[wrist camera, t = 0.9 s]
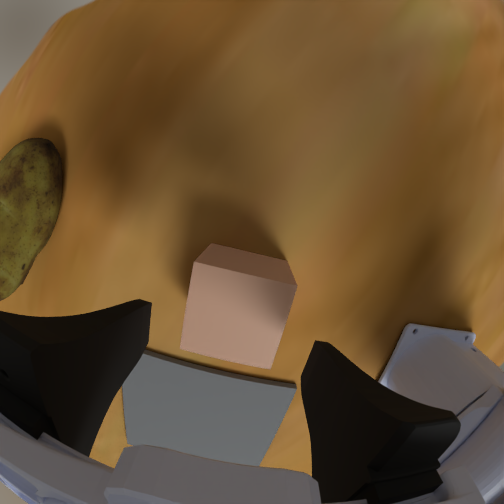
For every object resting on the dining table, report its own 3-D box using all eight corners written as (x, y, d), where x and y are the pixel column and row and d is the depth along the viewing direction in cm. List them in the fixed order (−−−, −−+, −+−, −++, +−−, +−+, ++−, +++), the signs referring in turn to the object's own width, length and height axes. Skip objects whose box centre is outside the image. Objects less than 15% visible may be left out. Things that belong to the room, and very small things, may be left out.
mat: (296, 384, 20) (296, 388, 19) (254, 470, 23) (254, 474, 22) (124, 342, 19) (121, 345, 19) (129, 439, 22) (127, 443, 22)
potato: (104, 208, 17) (25, 222, 9) (29, 296, 19) (-28, 329, 11) (59, 129, 16) (-13, 114, 8) (-6, 227, 18) (-63, 242, 10)
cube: (287, 260, 18) (297, 285, 13) (267, 327, 19) (270, 369, 14) (211, 242, 18) (194, 261, 13) (198, 311, 19) (179, 348, 14)
